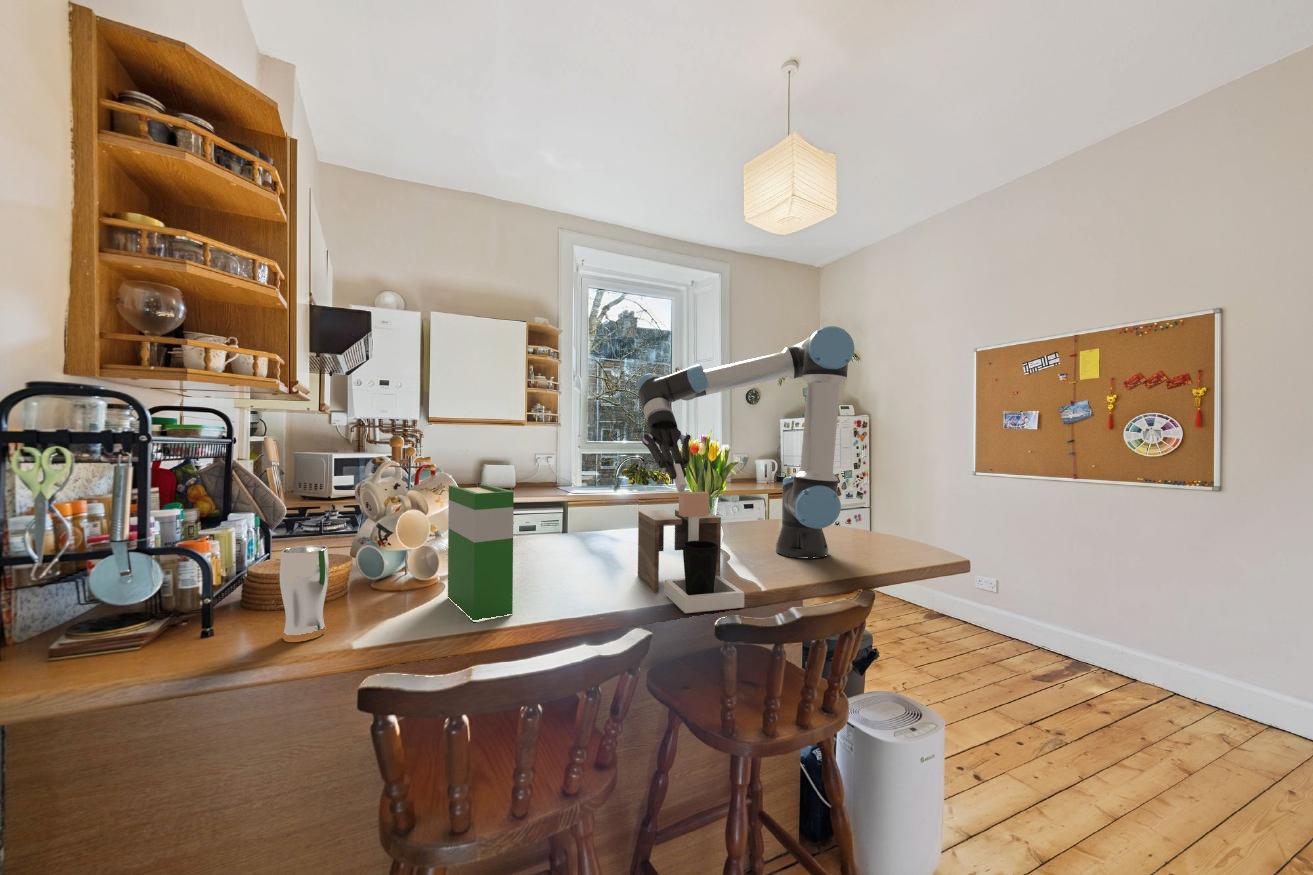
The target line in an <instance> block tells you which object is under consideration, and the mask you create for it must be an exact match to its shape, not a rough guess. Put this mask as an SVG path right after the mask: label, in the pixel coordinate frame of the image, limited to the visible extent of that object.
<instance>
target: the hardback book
mask: <svg viewBox="0 0 1313 875" xmlns="http://www.w3.org/2000/svg"><path fill="white" fill-rule="evenodd" d="M514 495H515V494H514V491H513V490H508V489H505V488H502V487H497V486H493V485H489V484H486V483H480V484H479V487H463V488H462V487H460V486H457V485H448V512H447V513H448V517H447V518H448V520H447V521H448V525H447V529H448V533H447V534H448V537H447V540H448V542H447V546H448V547H447V549H448V550H447V598H448V597H449V598H450V599H451V600H452V601H453V602H454V603H455V604H457V606H459V607H460V608H461V609H462V610H463V611H464V612H465V613H466V614H467V615H468V616H470V618H472V620H479V619H482V618H491V617H496V616H504V615H507V614H512V615H514V614H513V612H514V611H513V606H514V604H513V597H514V596H513V595H514V593H513V590H514V500H515V499H514Z"/></svg>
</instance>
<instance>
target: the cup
mask: <svg viewBox="0 0 1313 875" xmlns="http://www.w3.org/2000/svg"><path fill="white" fill-rule="evenodd" d="M682 546H683V550H682V559H683V567H684V568H683V570H684V578H685V585H686V594H688V595H699V594H711V593H715V591H714V585H715V575H716V565H717V555H718V544H717V543H714V542H709V541H688V542H684V543H683V544H682Z"/></svg>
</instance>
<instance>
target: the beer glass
mask: <svg viewBox="0 0 1313 875" xmlns="http://www.w3.org/2000/svg"><path fill="white" fill-rule="evenodd" d="M280 555H281V556H280V565H279V566H280V567H279V587H280V594H281V598H282V602H283V607H284V611H285V625H284V628H283V629H284V630H283V633H285V634H286V635H301V634H306V633H312V632H313V631H318V630H320V629H323V628H324V627H325V628H326V624H325V621H324V605H325V600H326V596H327V590H328V585H329V584H328V583H329V579H330V578H329V576H330V563H329V562H330V560H329V552H328V546H327V545H324V544H310V545H309V544H307V545H306V544H305V545H300V546H299V545H298V546H292V547H288V548H285V549H282V550H281V554H280Z"/></svg>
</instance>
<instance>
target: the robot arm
mask: <svg viewBox="0 0 1313 875" xmlns="http://www.w3.org/2000/svg"><path fill="white" fill-rule="evenodd" d="M854 353H855V342H854V339H853V338H852V336H851V335H850V334H849V333H848V332H847V330H846V329H843V328H841V327H839V326H835V325H829V326H824V327H821V328H818V329H816V330H815V331H813V332H812V334H810V336H808V337H806V338H805V340H802V341H801V342H799V343H797V344H794V345H790V346H787V347H784V349H783V350H782V351H780V352H776V353H771V354H768V355H764V356H763V355H762V356H759V357H756V358H751V359H750V358H749V359H746V360H742V361H737V362H735V363H734V362H733V363H730V364H724V365H721V366H717V367H713V368H708V369H704V367H703V366H702V365H701V364H696V365H691V366H688V367H686V368H684V369H682V370H679V371H676V372H674V373H671V374H668V375H665V376H662V377H660V376H659V374H657V373H647V374H644V375H643V376H641V377H640V378H639V380H638V381H637V385H636V388H637V392H638V394H637V395H638V398H639V402H640V404H641V409H642V410H643V414H644V417H645V422H646V424H647V428H648V431H649V434H648V433H647V434H646V433H645V434H644V436H643V438H642V444H643V445H644V446H646V448H647V449H648V450H649V452H650V454H651V455H652V458H653V459H654V461H655V462H656V464H657V465H658V467H659V469H666V470H665V471H666V472H667V473H668V474H669V477H670V479H671V480H673V481H674V483H675V487H676V489H677V491H676V492H678V493H679V492H685V489H686V487H687V482H686V476H687V471H686V469H687V468H688V465H689V464H690V440H691V438H692V437H691V435H690V434H686V435H684V434H683V433H682V432H681V431H680V430H679V427H678V423H677V420H676V418H675V416H674V411H673V408H672V406H671V403H675V402H676V401H679V400H682V401H692V400H693V399H697V398H699V397H704V396H708V395H712V394H717V393H721V392H726V391H730V390H735V389H738V388H743V387H747V386H752V385H756V384H760V383H765V382H769V381H773V380H779V379H782V378H789V379H791V380H793V379H798V378H802V379H803V380H804V381H805V382H806V384H807V385H806V398H805V408H804V418H803V419H804V421H803V422H804V423H803V434H802V444H801V454H800V455H801V458H800V459H801V460H800V467H799V470H798V471H797V472H796V473H795V474H794V475H793V476H786V477H784V478H783V479H782V486H781V489H782V498H781V500H782V501H781V502H782V504H781V505H782V506H781V507H782V508H781V528H780V532H779V534H778V536H777V540H776V543H775V552H776V553H777V554H778V553H780V554H782V555H781V556H784V555H787V556H786V557H788V556H791V557H790V558H793V557H808V558H813V557H823V556H825V555H828V556H829V545H828V543H827V539H826V538H825V533H824V530H823V529H825V528H828V527H830V526H831V525H833V524H834V523H835V522H836V521H837V519H838V518H839V516H840V514H841V509H842V505H841V504H842V503H841V499H840V496H839V495H838V486H839V479H838V478H837V476H836V475H835V474H834V464H835V461H834V460H835V451H836V440H837V428H838V416H839V404H840V393H841V391H840V390H841V385H842V384H843V383H844V382H846V381H847V380H848V369H849V363H850V362H851V361H852V359H853V357H854ZM679 440H680V443H681V451H680V448H679V444H678V442H679ZM780 554H779V555H780Z"/></svg>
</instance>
